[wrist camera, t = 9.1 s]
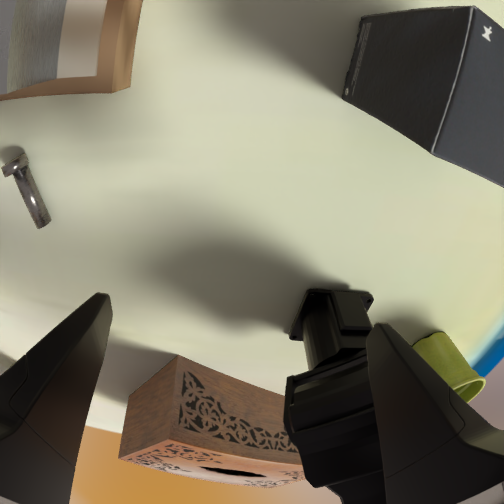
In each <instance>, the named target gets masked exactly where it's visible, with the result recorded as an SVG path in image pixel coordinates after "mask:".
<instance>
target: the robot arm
mask: <svg viewBox="0 0 504 504" xmlns="http://www.w3.org/2000/svg"><path fill="white" fill-rule="evenodd" d="M311 294H313V295H311ZM373 301H374V298H373V296H372V295H371V294H366V293H355V292H344V291H333V290H323V289H309V290H307V292H306V294H305V296H304V299H303V301H302V304H301V306H300V308H299V311H298V313H297V316H296V318H295V321H294V323H293V325H292V328H291V330H290V332H289V339H290V340H295V341H304V346H305V352H306V357H307V363H308V368H309V371H307V372H304V373H301V374H298V375H295V376H294V375H292V376H289V377H287V383H286V390H285V402H284V414H283V423H284V430H285V432H286V433H287V434H288V436H289V439H290V440H291V442H292V444H293V445H294V446H295V447H297V449H298V452H299V454H300V458H301V462H302V466H303V471H304V475H305V478H306V480H307V481H308V482H309V483H310V484H311V485H312V486H313V487H314V488H319V487H323V486H326V487H327V488H328V489H330V490H331V491H332V492H334V493H335V494H336V495H338V496H339V497H340V499H341V502H342V504H504V430H499V429H497V428H495V427H493V426H492V425H490V424H489V423H488V422H487V421H486V420H485V419H484V418H482V417H481V416H480V415H479V414H478V413H477V412H476V411H475V410H474V409H473V408H472V407H470V406H469V405H468V404H467V403H466V402H465V401H464V400H463V399H462V398H461V397H460V396H459V395H458V394H457V393H456V392H455V391H454V390H453V389H452V388H451V387H450V386H449V385H448V384H447V382H446V381H445V380H444V379H443V378H442V377H441V376H440V375H439V374H438V373H437V372H436V371H435V370H434V369H433V368H432V367H431V366H430V365H429V364H428V363H427V362H426V361H425V360H424V359H423V358H422V357H421V356H420V355H419V354H418V353H417V352H416V351H415V350H414V349H413V348H412V347H411V346H410V345H409V344H408V343H407V342H406V341H405V340H404V339H403V338H402V337H401V336H400V335H399V334H398V333H397V332H396V331H395V330H394V329H393V328H392V327H391V326H390V325H389V324H388V323H376V324H375V325H374V327H372V325H371V322H370V320H369V317H368V314H367V311H368V310H369V308H370V306H371V304H372V303H373ZM112 317H113V311H112V306H111V300H110V296H109V295H108V294H105V293H100V292H98V293H96V294H94V295H93V296H92V297H91V298H89V299H88V300H87V301H86V302H85V303H83V304H82V305H81V306H80V307H79V308H77V309H76V310H75V311H74V312H73V313H71V314H70V315H69V316H68V317H67V318H65V319H64V320H63V321H62V322H61V323H60V324H59V325H57V326H56V327H55V328H54V329H53V330H52V331H50V332H49V333H48V334H47V335H46V336H45V337H44V338H42V339H41V340H40V341H39V342H38V343H37V344H36V345H35V346H34V347H32V348H31V349H30V350H29V351H28V352H27V353H26V355H23V356H22V357H21V358H20V359H19V360H18V361H17V362H16V363H15V364H14V365H12V366H11V367H10V368H9V369H8V370H7V371H5V372H4V373H3V374H2V375H0V504H69V500H70V495H71V488H72V483H73V478H74V472H75V466H76V462H77V457H78V453H79V448H80V443H81V439H82V434H83V431H84V427H85V423H86V419H87V415H88V411H89V408H90V404H91V400H92V397H93V393H94V390H95V386H96V383H97V379H98V376H99V373H100V370H101V366H102V363H103V360H104V355H105V350H106V345H107V341H108V336H109V331H110V326H111V322H112Z"/></svg>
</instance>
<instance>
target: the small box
mask: <svg viewBox="0 0 504 504" xmlns="http://www.w3.org/2000/svg"><path fill="white" fill-rule="evenodd" d="M359 28H360V30H359V34H358V35H357V42H356V46H355V48H354V54H353V58H352V60H351V65H350V68H349V71H348V72H347V76H346V81H345V86H344V92H343V95H342V99H343V100H344V101H346V102H348V103H350V104H352V105H354V106H355V107H357V108H359V109H361V110H363V111H364V112H366V113H368V114H369V115H371V116H373V117H375V118H377V119H378V120H380V121H382V122H383V123H385V124H387V125H388V126H390V127H392V128H393V129H395V130H396V131H398V132H400V133H401V134H403V135H404V136H406V137H407V138H409V139H410V140H412V141H414V142H415V143H416V144H418V145H419V146H421V147H422V148H424V149H425V150H427V151H428V152H429V153H430V154H432V155H434V156H436V157H438V158H441V159H443V160H445V161H448V162H450V163H453V164H455V165H457V166H460V167H462V168H464V169H466V170H468V171H471V172H473V173H475V174H477V175H479V176H481V177H483V178H485V179H487V180H489V181H491V182H493V183H495V184H497V185H499V186H501V187H503V188H504V29H503V28H502V27H501V26H500V25H499V24H498V23H496V22H495V21H494V20H493V19H491V18H490V17H489V16H487V15H486V14H485V13H484V12H482V11H481V10H480V9H479V8H477V7H476V6H448V7H431V8H419V9H411V10H406V11H397V12H389V13H382V14H374V15H366V16H363V17H361V21H360V26H359Z"/></svg>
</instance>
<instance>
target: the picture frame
mask: <svg viewBox="0 0 504 504" xmlns="http://www.w3.org/2000/svg"><path fill="white" fill-rule="evenodd" d="M142 2H143V0H67V3H66V8H65V13H64V19H63V25H62V32H61V39H60V47H59V57H58V68H57V79H54V80H50V81H46V82H43V83H39V84H35V85H32V86H29V87H25V88H22V89H19V90H16V91H13V92H10V93H7V94H1V95H0V101H2V100H9V99H17V98H26V97H36V96H47V95H62V94H86V93H114V92H117V91H119V90H122V89H125V88H128V87H130V82H131V73H132V64H133V56H134V49H135V42H136V36H137V29H138V23H139V18H140V12H141V7H142Z"/></svg>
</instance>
